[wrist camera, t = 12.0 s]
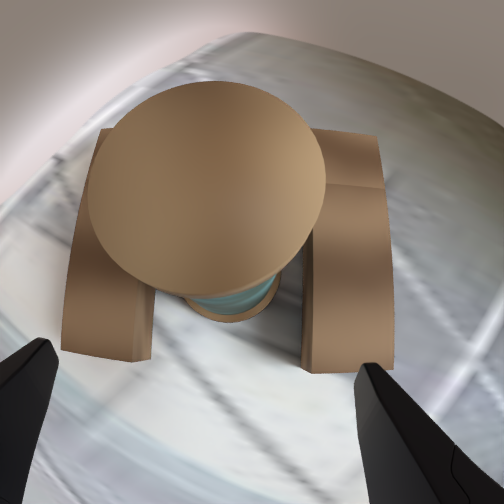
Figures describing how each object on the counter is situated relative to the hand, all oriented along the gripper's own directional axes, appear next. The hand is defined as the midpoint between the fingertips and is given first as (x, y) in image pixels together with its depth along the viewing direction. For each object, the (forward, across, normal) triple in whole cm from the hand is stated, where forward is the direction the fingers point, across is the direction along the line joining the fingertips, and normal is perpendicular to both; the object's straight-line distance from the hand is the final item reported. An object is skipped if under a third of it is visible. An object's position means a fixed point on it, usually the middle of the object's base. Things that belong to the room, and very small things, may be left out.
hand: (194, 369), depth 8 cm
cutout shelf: (+13, 0, +3) cm, 13 cm away
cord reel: (+12, 0, +4) cm, 13 cm away
